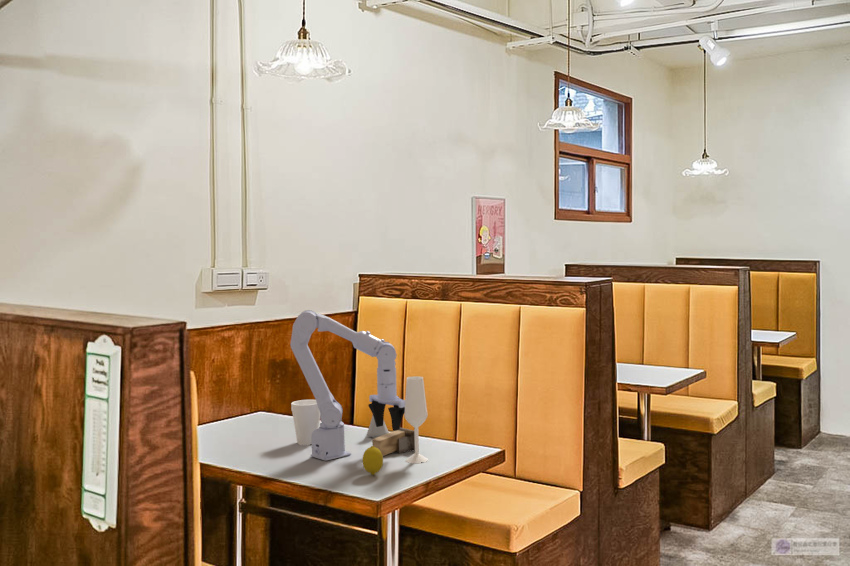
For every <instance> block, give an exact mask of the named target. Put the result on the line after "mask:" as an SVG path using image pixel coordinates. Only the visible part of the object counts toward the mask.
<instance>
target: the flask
mask: <svg viewBox="0 0 850 566" xmlns="http://www.w3.org/2000/svg"><path fill="white" fill-rule="evenodd" d="M387 433H390V431H389V429H388V427H387V425H386V422H385V420H384V421H383V426H380V427H376V423H375V420H374V416H373V414H372V417H371V420H370V422H369V427H368V429H367V432H366V437H369V438H377V437H379V436H382V435H385V434H387Z"/></svg>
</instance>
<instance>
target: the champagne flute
mask: <svg viewBox="0 0 850 566" xmlns="http://www.w3.org/2000/svg"><path fill="white" fill-rule="evenodd" d="M426 398H427V397H426V391H425V382H424V376H417V375H416V376H407V377H406V385H405V413H404V415H403V417H404V419H405V420H406V421H407V423H408V424H410V425H411V427H413V429H414V437H415V451H414V454H412V455H411V456H410V457H408V458H406V460H405V462H406V463H408V462H409V464H422V463H421V462H424V463H427V462H428V461H429V460H428V459H429V458H427V457H425V455H423V454H421V453H420V443H419V440H420V439H419V427H421V426H422V425H423V423H425V421H426V420H427V418H428V409H427V407H428V406H427V399H426ZM427 460H428V461H427ZM426 461H427V462H426Z"/></svg>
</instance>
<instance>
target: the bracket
mask: <svg viewBox="0 0 850 566" xmlns="http://www.w3.org/2000/svg"><path fill="white" fill-rule="evenodd" d="M399 430H400V431H404V432H405V437H403V438H399V439H398V450H397V451H395V452H394V453H395V454H404V453H407V451H408V452H411V451H412V450H413V452H415V437H414V430H413V429H409V428H406V427H405V428H404V427H400V429H399ZM410 450H411V451H410Z"/></svg>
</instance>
